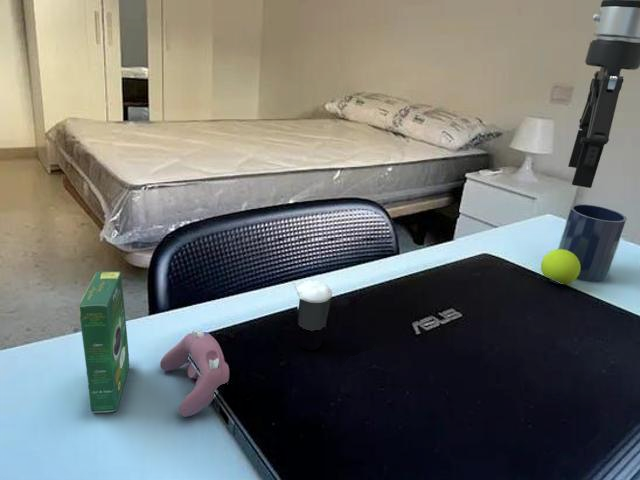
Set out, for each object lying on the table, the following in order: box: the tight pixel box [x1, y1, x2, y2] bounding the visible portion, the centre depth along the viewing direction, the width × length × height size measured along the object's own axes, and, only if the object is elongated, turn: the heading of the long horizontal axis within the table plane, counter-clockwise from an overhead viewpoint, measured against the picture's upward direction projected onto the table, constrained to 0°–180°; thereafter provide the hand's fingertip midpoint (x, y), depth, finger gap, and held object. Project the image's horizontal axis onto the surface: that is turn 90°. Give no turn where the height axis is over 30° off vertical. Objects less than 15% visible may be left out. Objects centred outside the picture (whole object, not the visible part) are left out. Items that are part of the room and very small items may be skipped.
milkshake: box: [291, 279, 333, 331], centre depth 65 cm, size 5×5×10 cm
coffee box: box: [78, 270, 130, 414], centre depth 54 cm, size 8×3×13 cm, turn 10°
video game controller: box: [159, 330, 230, 418], centre depth 57 cm, size 10×5×7 cm, turn 30°
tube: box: [557, 203, 628, 283], centre depth 95 cm, size 9×9×12 cm
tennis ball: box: [540, 248, 580, 286], centre depth 90 cm, size 6×6×6 cm
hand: (578, 176), depth 84 cm, fingers open, 13 cm apart
